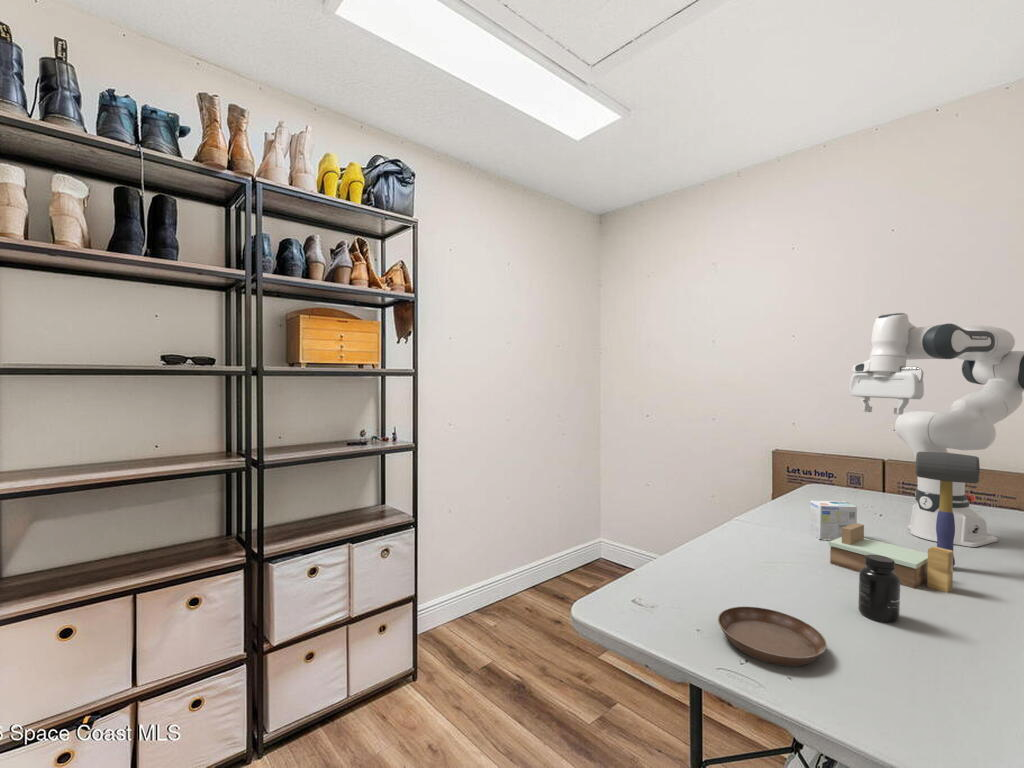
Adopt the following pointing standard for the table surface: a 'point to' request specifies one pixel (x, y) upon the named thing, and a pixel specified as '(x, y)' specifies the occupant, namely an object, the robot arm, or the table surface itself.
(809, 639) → the plant saucer
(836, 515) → the light bulb box
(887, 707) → the table surface
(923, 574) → the wooden box base
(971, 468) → the rubber mallet
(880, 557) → the supplement bottle
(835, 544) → the lid
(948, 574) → the light wooden block
